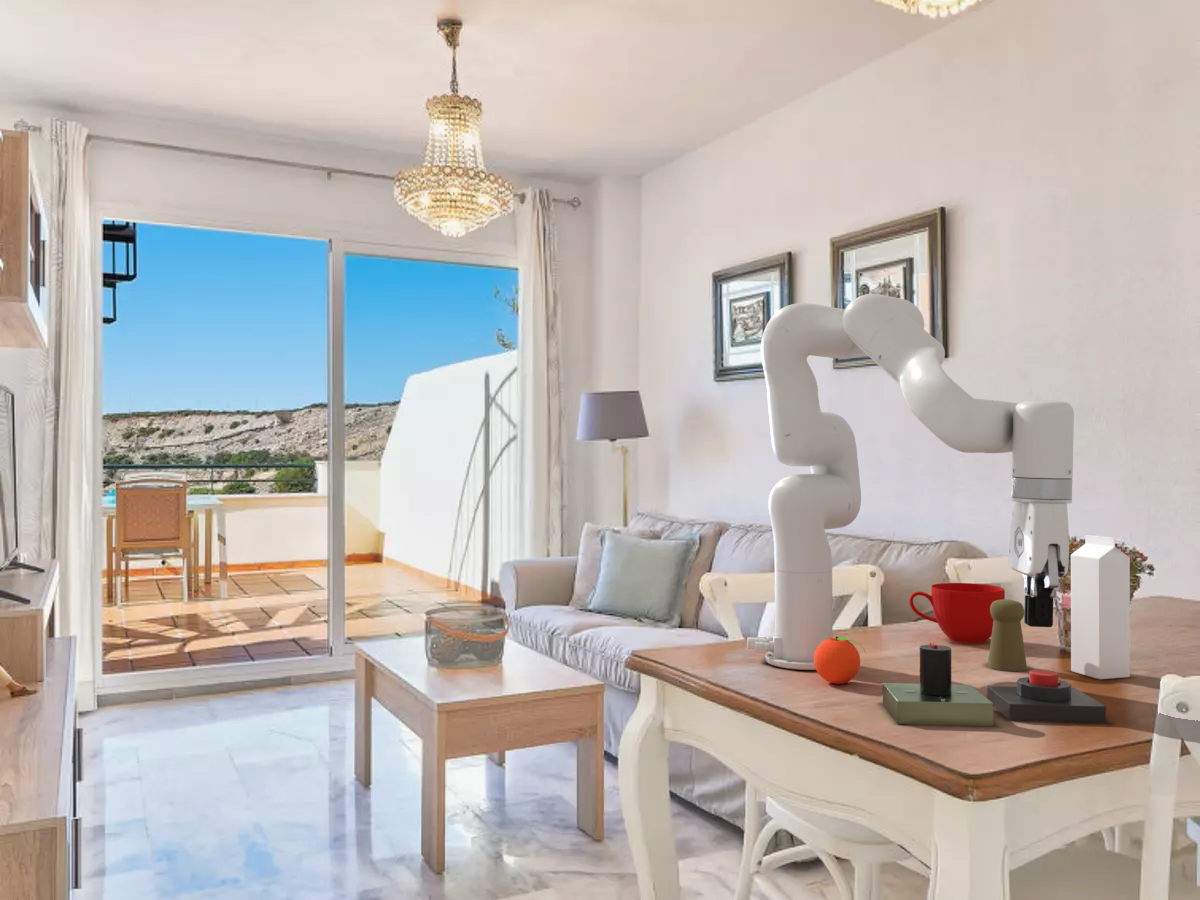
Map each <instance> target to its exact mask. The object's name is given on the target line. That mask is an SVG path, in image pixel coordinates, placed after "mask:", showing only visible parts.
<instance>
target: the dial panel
mask: <svg viewBox="0 0 1200 900" xmlns="http://www.w3.org/2000/svg"><path fill="white" fill-rule="evenodd" d="M951 692H952V693H951V694H950V695H946V696H934V695H928V694H924V693H922V692H920V683H908V682H907V683H906V682H905V683H904V682H902V683H901V682H882V705H883V706H884V708H885V709H886V710H887V712H888V713H889V715H890V716H891V717H892V718H893V720H894V721H895V722H896V723H897V724H898V725H924V726H959V727H961V726H963V727H994V707H993V703H992V702H991V701H990V700H988V699H987V696H985V695H984V694H983V693H982V692H980V691H979V690H978V689H976V688H975V687H974V686H973V685H972V684H953V683H951Z"/></svg>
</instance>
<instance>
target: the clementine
mask: <svg viewBox="0 0 1200 900" xmlns="http://www.w3.org/2000/svg"><path fill="white" fill-rule="evenodd" d="M852 642H855V643H856V644H857V645H860V643H859V642H857V641H855V640H854V639H850V638H846V637H838V636H835V637H832V638H829V639H826V640H825V641H823V642H822V643H821V644H820V645H819V646H818V647H817V649H816V651H815V654H814V665H815V668H816V670H815V671H816V672H817V674H818V675H819V676H820V677H821V678H822V679H823V680H825V681H826V682H828V683H831V684H834V685H843V684H846V683H849V682H850V681H852V680H853V679H854V678H855V677H856V676H857V675H858V673H859V670H860V668H861V655H860V654H859V653H860V652H859V651H858V649H857V648H856V646H855V645H854V644H853V643H852ZM862 649H863V651H864V652H865V654H867V653H866V650H865V648H864V647H862Z"/></svg>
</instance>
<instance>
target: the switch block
mask: <svg viewBox="0 0 1200 900" xmlns="http://www.w3.org/2000/svg"><path fill="white" fill-rule="evenodd" d="M986 698H987V699H988V700H990V701H991V702H992V703H993V708H994V709H996V710H997V711H998V712H999V713H1001V714H1002V716H1004V717H1005V718H1006V719H1007V720H1008V721H1010V722H1043V723H1044V722H1046V723H1047V722H1048V723H1082V724H1083V723H1085V724H1086V723H1087V724H1088V723H1089V724H1107V707H1106V705H1104V704H1103V703H1101V702H1099V701H1098V700H1096V699H1094V698H1092V697H1091V696H1089V695H1088V694H1086V693H1085V692H1083V691H1081V690H1079V689H1078V688H1076V687H1072V684H1071V683H1070V682H1067V681H1065V680H1062V679H1058V686H1041V685H1034V684H1031V683H1029V676H1025V677H1020V678H1018V679H1017V680H1016V686H1009V685H1005V686H1004V685H1002V686H1001V685H986Z"/></svg>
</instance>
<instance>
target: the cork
mask: <svg viewBox="0 0 1200 900" xmlns="http://www.w3.org/2000/svg"><path fill="white" fill-rule="evenodd" d="M990 613H991V616H992V618H993V619H994V622H993V629H992V636H991V637H990V644H989V652H988V658H987V667H988V668H990V669H993V670H998V671H1004V672H1005V671H1006V672H1024V671H1026V670H1028V664H1027V657H1026V651H1025V644H1024V635H1023V630H1022V620H1023V619H1024V615H1025V607H1024V605H1023V604H1022V603H1021V602H1020V601H1017V600H1015V599H1014V600H1013V599H1006V598H1005V599H1003V600H996V601H994V602H992V604H991V606H990Z"/></svg>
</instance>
